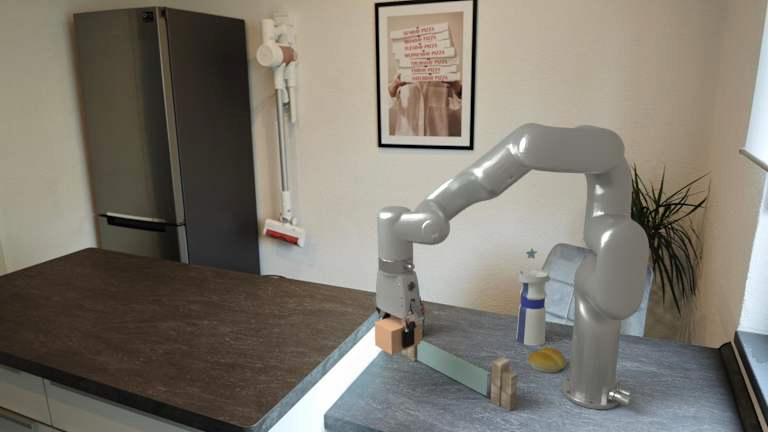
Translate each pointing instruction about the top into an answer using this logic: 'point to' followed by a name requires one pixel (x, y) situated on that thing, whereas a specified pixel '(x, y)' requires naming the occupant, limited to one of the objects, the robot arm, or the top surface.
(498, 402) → the wooden block fence
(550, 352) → the bread roll
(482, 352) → the top surface
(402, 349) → the block
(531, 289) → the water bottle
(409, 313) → the robot arm
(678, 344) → the top surface
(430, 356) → the pale green flat bar
